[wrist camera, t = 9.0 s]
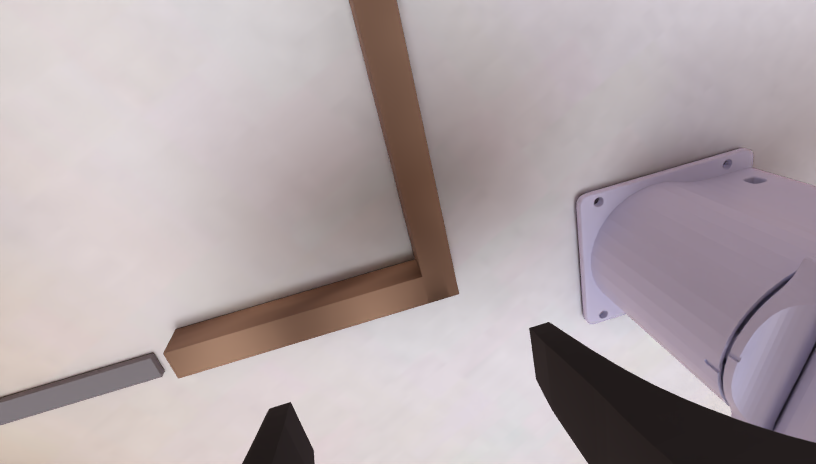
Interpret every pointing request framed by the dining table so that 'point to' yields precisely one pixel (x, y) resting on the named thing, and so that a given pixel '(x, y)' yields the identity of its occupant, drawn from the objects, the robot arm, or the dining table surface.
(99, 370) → the grey open frame
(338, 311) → the walnut holder
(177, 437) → the dining table surface
